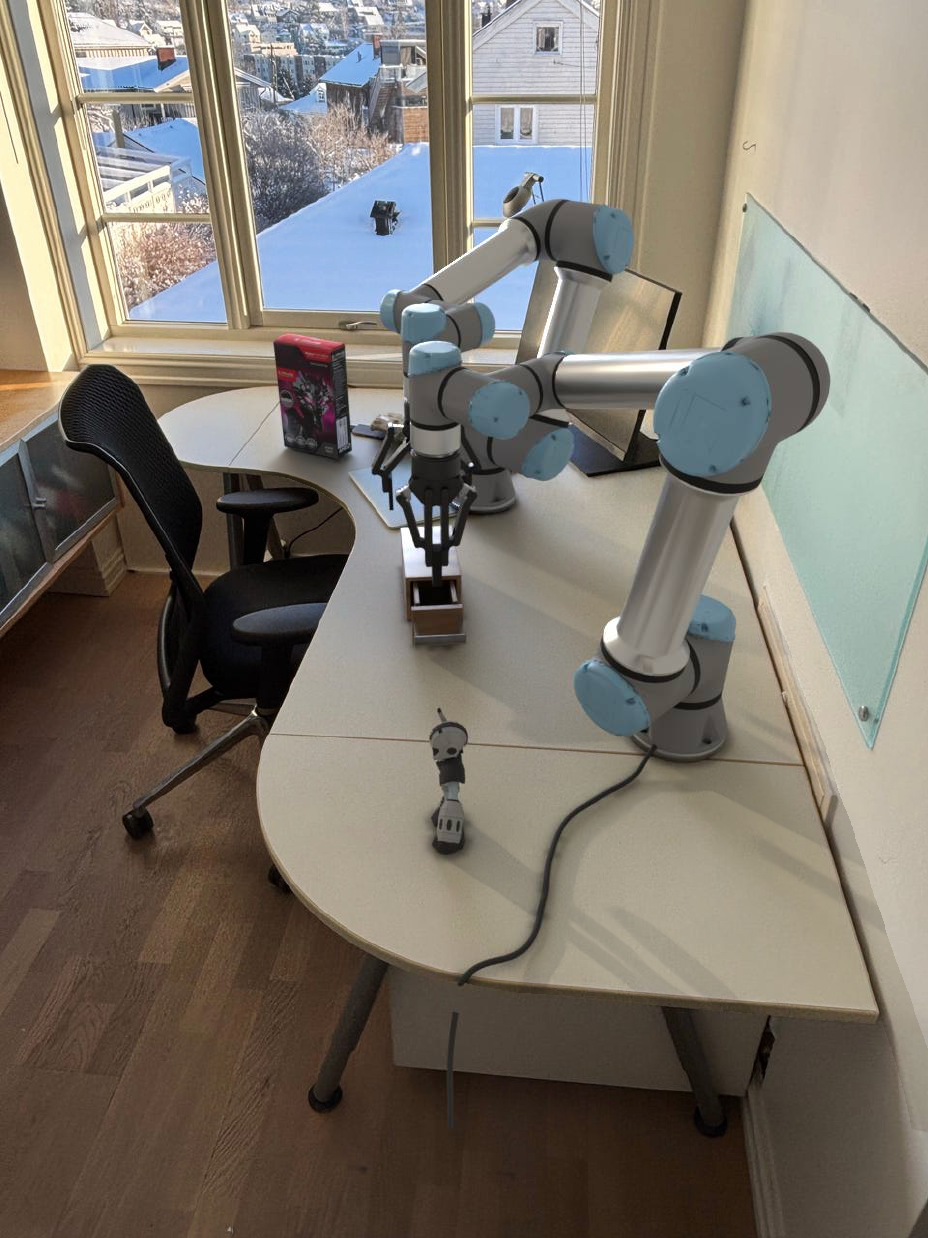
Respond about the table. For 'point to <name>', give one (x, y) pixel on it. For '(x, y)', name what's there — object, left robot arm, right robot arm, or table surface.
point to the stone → (384, 419)
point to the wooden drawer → (436, 614)
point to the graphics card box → (313, 395)
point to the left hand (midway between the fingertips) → (427, 505)
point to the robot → (449, 784)
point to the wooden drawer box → (417, 569)
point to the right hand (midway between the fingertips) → (436, 582)
